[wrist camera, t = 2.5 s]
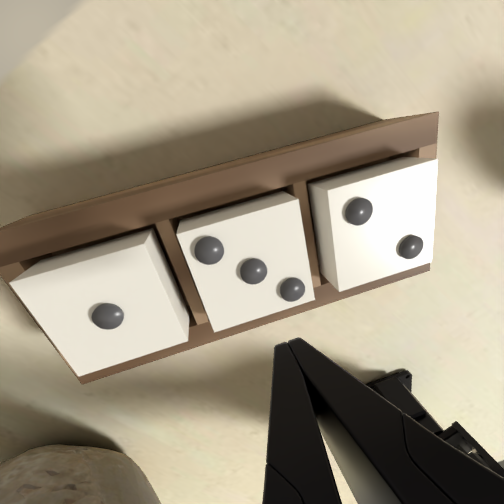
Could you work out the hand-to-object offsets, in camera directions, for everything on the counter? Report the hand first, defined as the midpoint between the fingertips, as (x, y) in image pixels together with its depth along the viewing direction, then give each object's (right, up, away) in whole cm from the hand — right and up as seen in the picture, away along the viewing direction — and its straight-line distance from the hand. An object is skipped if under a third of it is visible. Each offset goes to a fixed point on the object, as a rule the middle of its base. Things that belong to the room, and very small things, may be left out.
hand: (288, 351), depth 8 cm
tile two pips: (+6, +5, +8) cm, 11 cm away
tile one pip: (-9, +1, +7) cm, 11 cm away
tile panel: (-2, +4, +11) cm, 12 cm away
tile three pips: (-2, +3, +8) cm, 8 cm away
